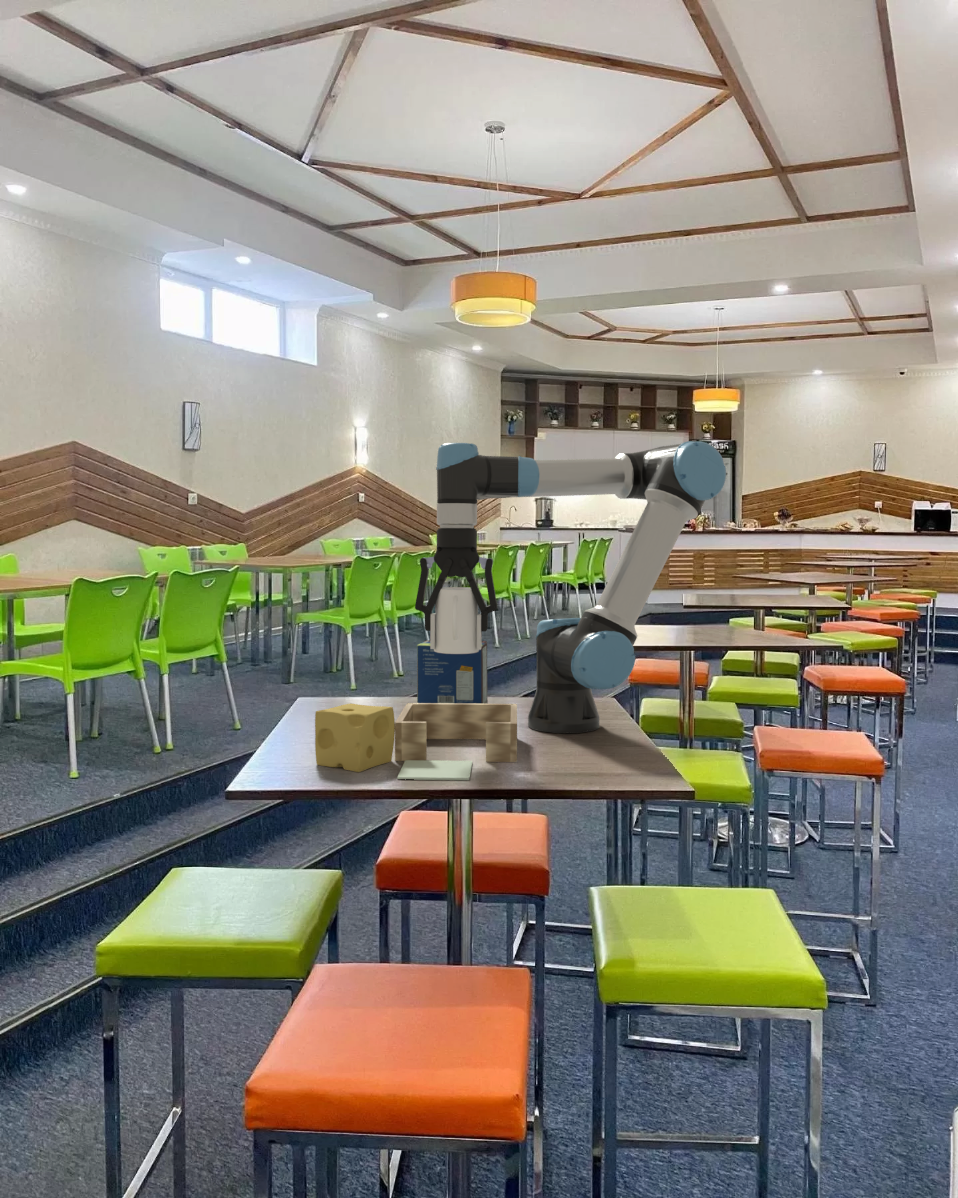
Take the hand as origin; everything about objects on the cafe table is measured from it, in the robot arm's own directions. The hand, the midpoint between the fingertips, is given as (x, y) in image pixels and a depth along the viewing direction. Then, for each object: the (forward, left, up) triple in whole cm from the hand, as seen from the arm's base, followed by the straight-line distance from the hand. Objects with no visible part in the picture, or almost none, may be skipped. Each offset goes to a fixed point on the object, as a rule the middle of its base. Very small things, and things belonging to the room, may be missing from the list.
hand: (456, 648), depth 179 cm
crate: (0, -1, -19) cm, 19 cm away
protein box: (+4, -44, -20) cm, 49 cm away
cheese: (+18, +10, -20) cm, 28 cm away
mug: (0, 0, -1) cm, 1 cm away
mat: (+3, +16, -19) cm, 25 cm away
